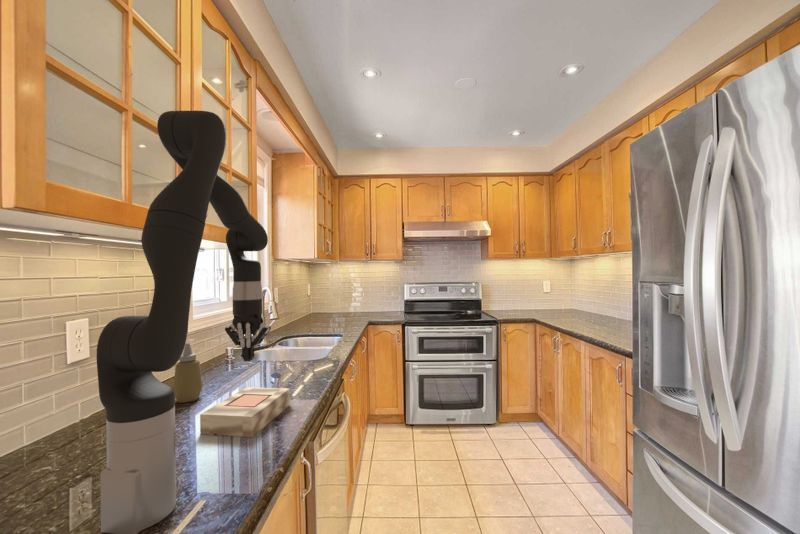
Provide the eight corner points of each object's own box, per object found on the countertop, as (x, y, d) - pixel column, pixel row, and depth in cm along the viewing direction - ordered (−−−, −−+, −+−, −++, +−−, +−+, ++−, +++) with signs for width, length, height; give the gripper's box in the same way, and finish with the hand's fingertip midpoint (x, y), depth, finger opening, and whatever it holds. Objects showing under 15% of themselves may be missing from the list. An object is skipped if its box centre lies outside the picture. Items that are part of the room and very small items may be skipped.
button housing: (252, 437, 84) (251, 416, 84) (200, 434, 86) (200, 414, 86) (289, 405, 104) (289, 388, 104) (247, 403, 106) (246, 387, 106)
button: (254, 421, 90) (254, 406, 90) (227, 420, 92) (227, 405, 92) (269, 409, 98) (269, 395, 98) (244, 408, 99) (244, 394, 99)
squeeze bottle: (189, 405, 105) (188, 346, 105) (166, 403, 106) (166, 345, 107) (208, 395, 113) (208, 341, 113) (187, 394, 114) (187, 340, 115)
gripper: (276, 296, 98) (277, 357, 98) (234, 297, 100) (234, 356, 99) (262, 298, 90) (263, 364, 90) (216, 299, 92) (217, 363, 92)
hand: (248, 360), depth 95 cm, fingers closed
